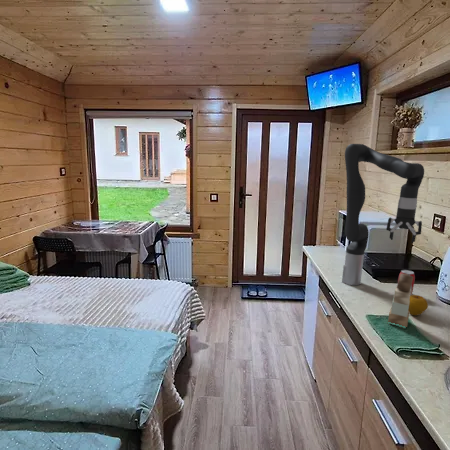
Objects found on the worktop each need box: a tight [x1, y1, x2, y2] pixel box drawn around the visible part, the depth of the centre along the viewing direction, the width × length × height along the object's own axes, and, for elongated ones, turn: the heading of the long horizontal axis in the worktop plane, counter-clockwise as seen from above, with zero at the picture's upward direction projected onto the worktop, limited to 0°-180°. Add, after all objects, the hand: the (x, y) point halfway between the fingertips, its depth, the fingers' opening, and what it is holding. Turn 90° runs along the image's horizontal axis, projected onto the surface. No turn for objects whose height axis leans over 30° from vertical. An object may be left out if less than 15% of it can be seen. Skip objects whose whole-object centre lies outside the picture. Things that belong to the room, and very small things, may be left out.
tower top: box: [392, 286, 411, 305], centre depth 135 cm, size 6×6×5 cm
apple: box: [408, 294, 429, 316], centre depth 145 cm, size 9×9×9 cm
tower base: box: [387, 306, 410, 328], centre depth 137 cm, size 7×7×5 cm
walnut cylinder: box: [396, 273, 413, 292], centre depth 134 cm, size 5×5×6 cm
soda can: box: [397, 269, 416, 296], centre depth 166 cm, size 7×7×12 cm
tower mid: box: [390, 297, 410, 317], centre depth 136 cm, size 6×6×5 cm
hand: (401, 241), depth 153 cm, fingers open, 8 cm apart
